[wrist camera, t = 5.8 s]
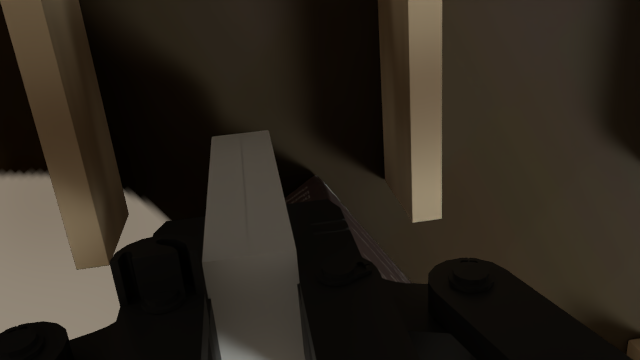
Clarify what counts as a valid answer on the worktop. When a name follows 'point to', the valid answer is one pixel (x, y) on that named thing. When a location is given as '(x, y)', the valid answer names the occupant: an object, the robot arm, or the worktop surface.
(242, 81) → the worktop surface
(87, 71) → the tray
